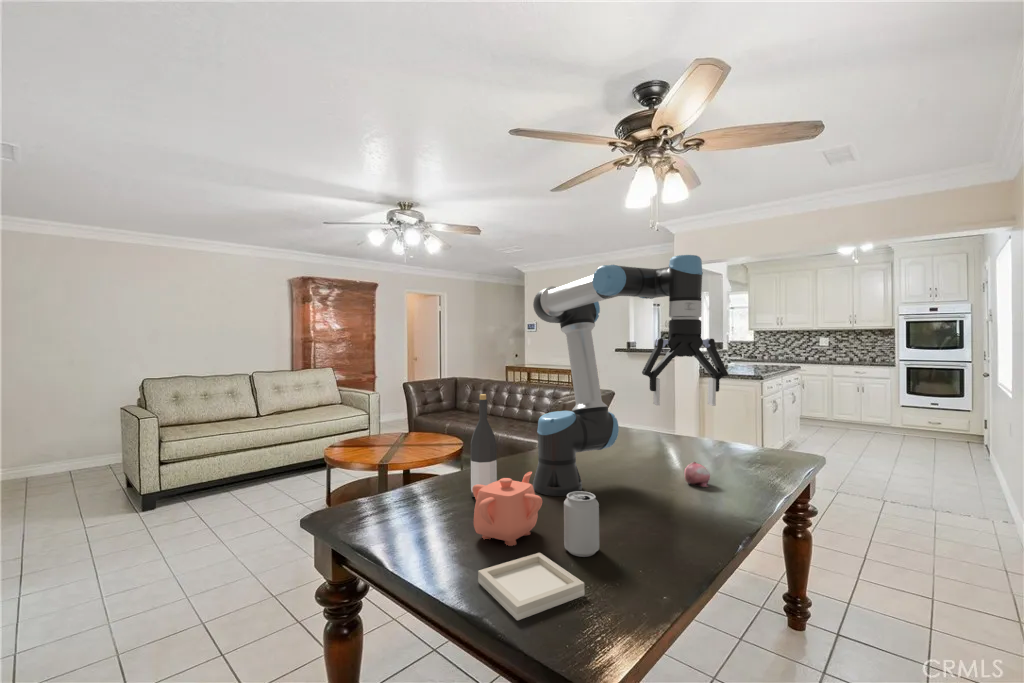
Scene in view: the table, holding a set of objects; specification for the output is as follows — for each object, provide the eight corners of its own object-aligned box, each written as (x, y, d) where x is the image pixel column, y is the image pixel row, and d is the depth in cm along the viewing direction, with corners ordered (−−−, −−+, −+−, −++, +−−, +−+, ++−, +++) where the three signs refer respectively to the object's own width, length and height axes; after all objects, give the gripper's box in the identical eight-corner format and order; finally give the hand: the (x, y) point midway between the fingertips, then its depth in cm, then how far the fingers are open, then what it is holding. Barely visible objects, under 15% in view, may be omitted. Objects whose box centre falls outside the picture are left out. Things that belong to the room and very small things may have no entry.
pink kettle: (480, 554, 97) (479, 492, 97) (467, 525, 112) (467, 472, 112) (553, 544, 101) (553, 485, 101) (531, 518, 116) (531, 467, 117)
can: (599, 560, 93) (598, 501, 94) (562, 557, 95) (562, 499, 95) (599, 544, 101) (598, 490, 101) (565, 541, 102) (565, 488, 102)
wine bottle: (477, 501, 130) (476, 396, 130) (465, 493, 136) (465, 394, 137) (502, 496, 134) (501, 394, 134) (489, 489, 141) (488, 392, 141)
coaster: (478, 582, 85) (478, 570, 85) (539, 563, 92) (539, 552, 92) (517, 620, 73) (517, 606, 73) (584, 595, 80) (584, 582, 80)
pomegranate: (686, 483, 147) (689, 461, 149) (711, 490, 143) (714, 467, 144) (680, 481, 141) (683, 458, 142) (706, 488, 136) (709, 464, 138)
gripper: (638, 318, 108) (637, 406, 108) (743, 318, 108) (742, 407, 108) (630, 319, 116) (629, 401, 116) (728, 319, 115) (727, 402, 116)
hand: (684, 404), depth 112 cm, fingers open, 13 cm apart
